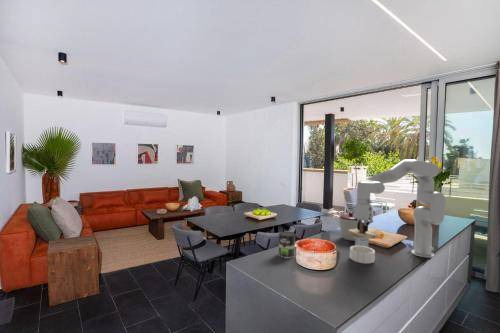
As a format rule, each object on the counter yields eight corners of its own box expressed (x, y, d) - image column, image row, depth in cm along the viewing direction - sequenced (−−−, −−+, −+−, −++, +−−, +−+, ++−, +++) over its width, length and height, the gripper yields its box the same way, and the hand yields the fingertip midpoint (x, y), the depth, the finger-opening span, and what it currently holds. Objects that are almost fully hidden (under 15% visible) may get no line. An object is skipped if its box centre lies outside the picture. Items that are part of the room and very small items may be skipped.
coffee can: (291, 259, 161) (292, 237, 160) (276, 256, 166) (276, 234, 165) (296, 254, 170) (297, 232, 169) (282, 251, 175) (282, 230, 174)
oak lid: (359, 229, 174) (359, 218, 174) (383, 236, 159) (383, 224, 159) (342, 232, 166) (342, 221, 165) (365, 240, 151) (365, 227, 151)
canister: (333, 237, 207) (333, 210, 206) (349, 234, 215) (349, 209, 215) (351, 244, 191) (352, 215, 190) (368, 240, 199) (368, 213, 199)
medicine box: (358, 249, 181) (359, 236, 180) (354, 246, 185) (355, 234, 185) (368, 248, 183) (368, 235, 183) (364, 246, 187) (364, 234, 187)
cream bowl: (359, 253, 172) (360, 244, 172) (379, 260, 160) (379, 251, 160) (345, 257, 166) (345, 247, 165) (364, 265, 153) (364, 255, 153)
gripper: (379, 203, 156) (378, 233, 157) (356, 199, 171) (355, 226, 171) (371, 204, 153) (370, 235, 153) (348, 199, 167) (347, 228, 168)
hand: (362, 230), depth 162 cm, fingers closed on oak lid, 3 cm apart
